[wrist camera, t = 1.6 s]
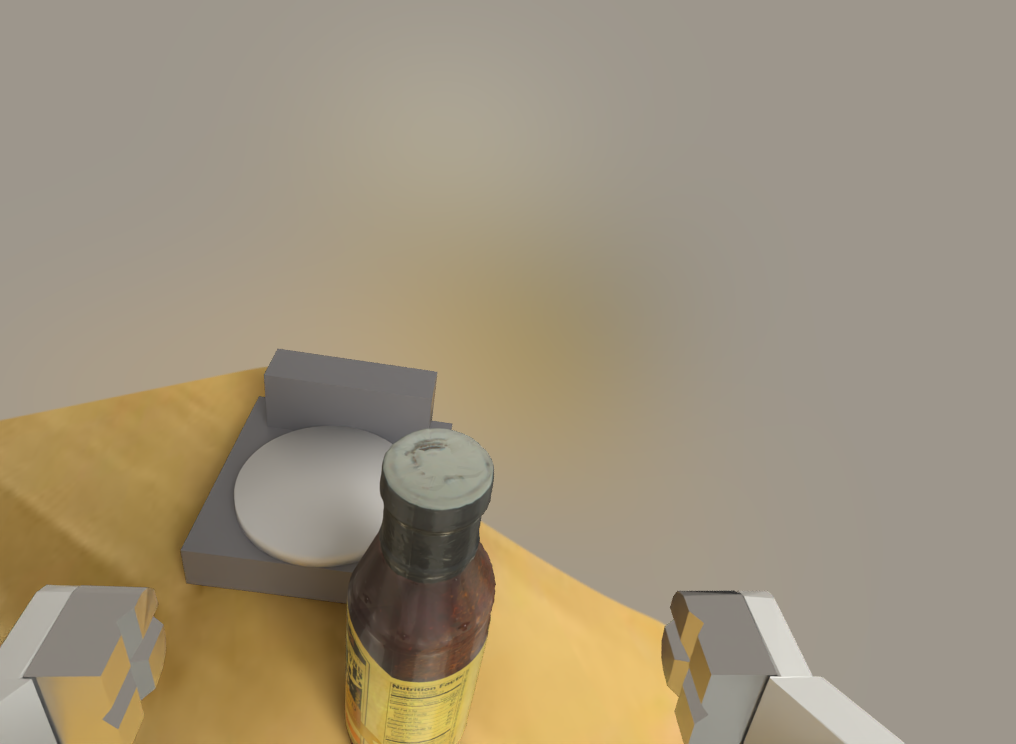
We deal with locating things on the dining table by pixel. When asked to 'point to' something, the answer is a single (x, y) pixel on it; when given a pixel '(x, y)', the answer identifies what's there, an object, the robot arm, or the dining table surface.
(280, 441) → the kitchen scale
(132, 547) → the dining table surface
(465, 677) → the sauce bottle
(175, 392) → the dining table surface
